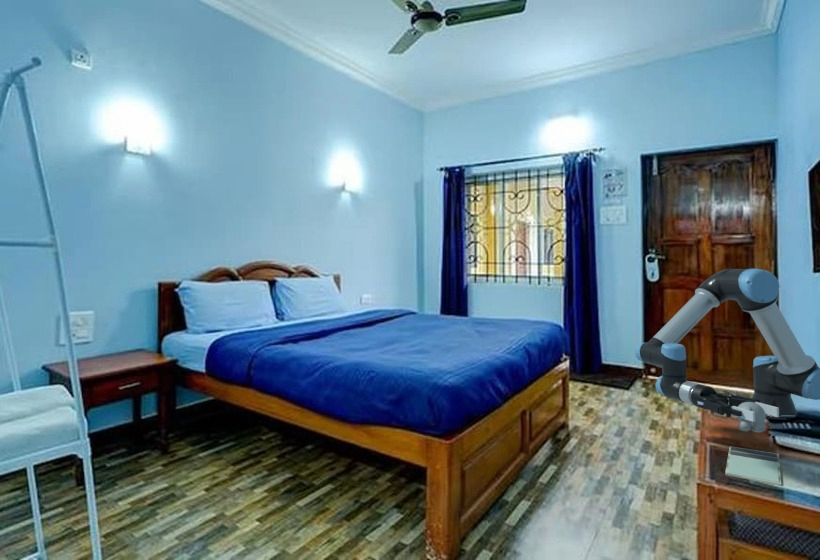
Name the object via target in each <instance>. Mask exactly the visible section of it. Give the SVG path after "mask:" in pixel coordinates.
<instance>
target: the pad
mask: <svg viewBox="0 0 820 560" xmlns="http://www.w3.org/2000/svg"><path fill="white" fill-rule="evenodd" d="M727 473H728V474H733V475H739V476H744V477H750V478H755V479H761V480H766V481H772V482H777V483H779V477H778V463H777V462H771V461H765V460H759V459H752V458H746V457H740V456H734V455H730V458H729V465H728V471H727Z"/></svg>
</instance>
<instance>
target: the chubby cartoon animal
mask: <svg viewBox="0 0 820 560" xmlns="http://www.w3.org/2000/svg"><path fill="white" fill-rule="evenodd" d="M738 407H739V408H743V409H746V410H749V411H753V412H755V421H754V422H752V421H749V420H746V419H743V418H739V417H736V418H737V420H738V421H739V423H738V429H739V430H740V431H742V432H750V431H752V432H754V433H763V432H765V431H766V429H767V428H766V425H765V421H766V420H767V418H766V414H765V411H764V409H763V408H762V407H761V406H760V405H758V404H756V403H753V402H744V403H742V404H740V405H739V406H738Z"/></svg>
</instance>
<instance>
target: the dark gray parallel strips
mask: <svg viewBox="0 0 820 560" xmlns="http://www.w3.org/2000/svg"><path fill="white" fill-rule="evenodd" d="M735 447H736V446H731V450H733V451H740V452H746V453H752V454H759V455H765V456H771V457H777V454H778V453H777V454H774V453H775V452H770V453H767V452H768V451H764V452H761V450H757V451H754V450H755V449H751V450H748V448H744V449H741V448H742V447H738V448H735ZM733 451H731V452H730V454H731V455H737V456H743V457H749V458H756V459H762V460H768V461H774V462H777V458H771V457H765V456H758V455H752V454H746V453H739V452H733Z"/></svg>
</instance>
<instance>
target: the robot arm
mask: <svg viewBox="0 0 820 560" xmlns="http://www.w3.org/2000/svg"><path fill="white" fill-rule="evenodd" d="M779 288H780V282H779V281H778V278H777V276H775V275H774V274H773V273H772V272H770V271H769V270H766V269H761V268H760V269H759V268H746V269H743V268H726V269H722V270H720V271H717V272H715V273H714V274H713V275H711V276H710V277H708V278H707V279H705V280H704V281H703V282H702V283H701V284H699V286H698V287H697V288H696V289H694V290H695V291H694V293H695V294H694V295H693V296H692V297H691V298H690V299H689V300H688V301H687V302H686V303H685V304H684V305H683V306H682V307H681V308H680V309H679V310H678V311H677V312H676V313H675V314H673V317H671V319H669V321H667V323H665V324H664V326H662V327H661V328H660V330H658V332H657V333H655V335H653V337H651V339H649V341H647V342H640V343H638V344H637V345H636V347H635V349H634V354H635V357H636V359H637V360H639V361H640V362H643V363H645V364H648V365H651V366H655V367H658V368H661V371H662V373H661V374H662V375H660V376H658V378H656V382H655V389H656V392H657V393H658V394H659V395H661V396H663V397H666V398H667V399H670V400H674V401H679V402H681V403H685V404H687V405H689V406H690V407H693V406H695V407H698V408H701V409H704V410H708V411H710V412H713V413H715V414H718V415H720V416H725V415H726V418H731V417H732V416H733V417H736V418H737V417H739V418H743V419H746V420H749V421H752V422H754V421H755V412H753V411H749V410H746V409H743V408H739V407H738V406H739V405H740V404H742V403H744V402H753V403H756V404H758V405H760V406H761V407H762V408H763V409H764V411H765V414H766V415H771V416H774V417H770V416H766V419H771V420H779V421H780V420H782V421H784V420H785V421H787V420H788V419H786V418H781V417H779V416H781V415H795V414H797V415H798V410H797V408H796V405H795V403H794V401H793V398H792V395H794V396H798V397H801V398H805V399H810V400H813V401H815V400H817V401H818V400H820V367H819V365H818V364H817V362H816V360H815V359H814V357H813V356H810V355H808V354H806V353H805V351H804V349H803V348H802V346H801V344H800V342H799V341H798V338H797V337H796V335H795V334H794V332H793V330H792V329H791V327H790V325H789V323H788V322H787V320H786V318H785V317H784V315H783V313H782V311H781V309H780V308H779V306H778V304H777V302H778V300H779V296H778V295H779V293H780V290H779ZM729 300H730V301H736V302H737V303H738V305H739V307H740V308H741V310H742V311H743V312H746V313H749V314H750V316H751V318H752V319H753V322H754V323H755V325H756V327H757V329H758V330H759V331H760V333H761V335H762V337H763V338H764V340H765V341H766V344H767V345H768V347H769V348H770V350H771V352H772V354H773V355H761V356H760V355H759V356H756V357H754V359H753V365H752V371H753V373H752V375H753V395H752V398H751V397H746V396H742V395H741V396H740V395H737V394H733V393H727V394H724V393H717V392H716V390H715V389H714V388H713V387H711V386H708V385H705V384H701V383H698V382H695V381H694V382H693V381H689V380H687V379H688V378H687V375H688V374H687V354H686V353H687V352H686V347H685V346H684V345H683V344H680V343H679V342H681V340H682V339H683V338H684V337H685V336H686V335H687V334H688V333H689V332H690V331H691V330H692V329H693V328H694V327H695V326H696V325H697V324H699V322H700V321H701V320H702V319H703V318H704V317H705V316H706V315H707V314H708V313H709V312H710V311H711V310H712V309H713V308H718V307H719V306H720V305H722V303H724V302H725V301H726V302H727V301H729Z"/></svg>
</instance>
